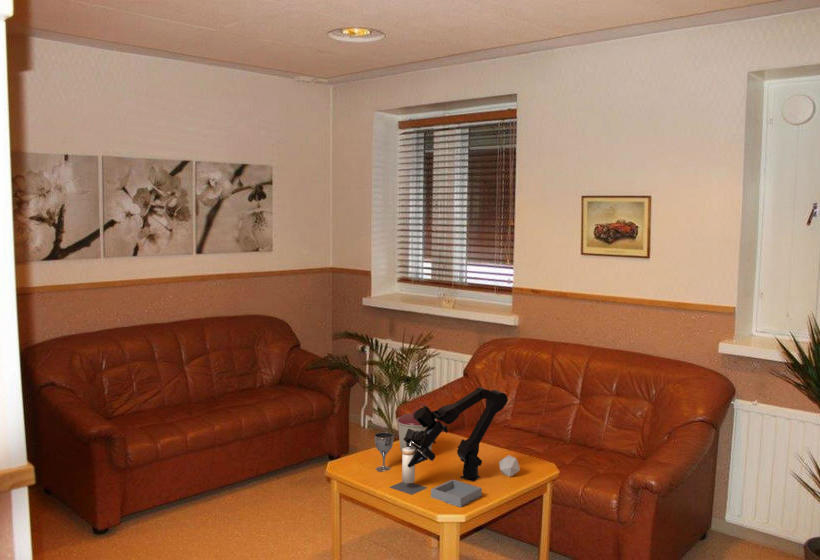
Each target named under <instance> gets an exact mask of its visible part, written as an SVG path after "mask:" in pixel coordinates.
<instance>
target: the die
mask: <svg viewBox="0 0 820 560" xmlns="http://www.w3.org/2000/svg"><path fill="white" fill-rule="evenodd" d="M519 463H520V462H519V461H518V459H517V458H516V457H514V456H512V455H510V454H508V455H506V456H505V457H504V458H501V460H500V461H498V464H499V470H500V472H501V474H503V475H505V476H506V477H509V476H511V477H513V476H514V475H515V474H517V473H518V472H520V471H521V470H520V469H521V468H520V465H519Z"/></svg>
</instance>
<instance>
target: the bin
mask: <svg viewBox="0 0 820 560" xmlns="http://www.w3.org/2000/svg"><path fill="white" fill-rule="evenodd" d="M482 491H483V488H482V487H481V486H476V485H472V484H469V483H466V482H463V481H459V480H456V479H451V480H447V482H446V481H445V482H443V483H442V484H440V485H437V486H435V487H433V488H431V489H430V498H432V499H435V500H438V501H441V502H444V503H446V504H449V505H451V506H455V507H458V508H463V507H465V506H466V505H469V504H470V503H472V502H474V501H476V500H477V499H480V498H481V497H482V495H483V494H482V493H483V492H482Z"/></svg>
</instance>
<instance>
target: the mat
mask: <svg viewBox="0 0 820 560" xmlns="http://www.w3.org/2000/svg"><path fill="white" fill-rule="evenodd" d="M388 488H389V489H393V490H395V491H397V492H398V491H399V492H402V493H405V494H407V495H408V494H409V495H411V496H413V495H415V494H418V493H419V492H422V491H425V490H427V489H428V487H427V486H424V485H420V484H417V483H415V482H413V483H404V482H403V481H400V482H398V483H394V485H391V486H388Z"/></svg>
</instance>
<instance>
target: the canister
mask: <svg viewBox="0 0 820 560" xmlns="http://www.w3.org/2000/svg"><path fill="white" fill-rule="evenodd" d="M417 410H418V409H414V410H413V411H412V413H405V414H402V415H400V416H399V417H397V418H396V420H395V421H396V423H397V428H398V437H399V440H398V441H399V447H400V452H401V454H402V449H403V448H404V447H407V446H406V442H405V441H404V440H403V439H404V438H405V437H406V436H405V435H406V433H407V430H408V429H411V430H414V431H419V432H420V431H424V430H425V429H426V428H427V427H423V426H422V425H421V424H420V423H419V422H418V421H417V420H416V419H415V418H414V414H415V412H416V411H417ZM435 420H436V421H437V419H435ZM432 447H433V443H432V444H431V445H430V447H429V449H430V450H431V451H432V449H433V448H432ZM417 450H418V449H417ZM418 451H419V450H418Z"/></svg>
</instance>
